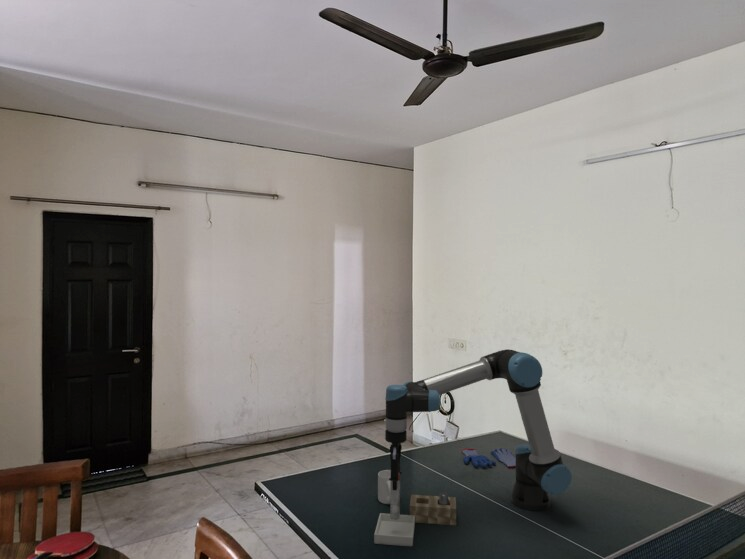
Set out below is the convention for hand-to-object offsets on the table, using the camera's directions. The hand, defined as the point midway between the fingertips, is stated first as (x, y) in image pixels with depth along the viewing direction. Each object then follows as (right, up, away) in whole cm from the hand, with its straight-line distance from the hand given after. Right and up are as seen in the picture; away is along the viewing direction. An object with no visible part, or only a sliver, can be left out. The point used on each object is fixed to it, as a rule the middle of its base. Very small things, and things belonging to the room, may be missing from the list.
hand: (395, 495), depth 175 cm
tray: (0, -13, 0) cm, 13 cm away
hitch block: (+15, -13, +12) cm, 23 cm away
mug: (-2, -14, +25) cm, 29 cm away
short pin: (+19, -13, +11) cm, 26 cm away
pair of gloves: (+53, -15, +74) cm, 92 cm away
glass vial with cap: (0, -8, 0) cm, 8 cm away
